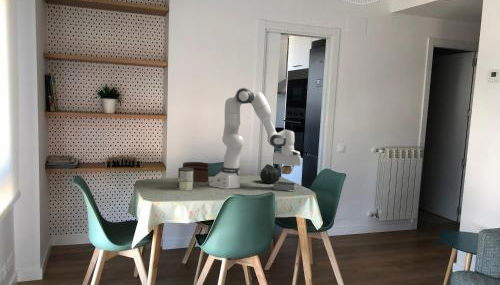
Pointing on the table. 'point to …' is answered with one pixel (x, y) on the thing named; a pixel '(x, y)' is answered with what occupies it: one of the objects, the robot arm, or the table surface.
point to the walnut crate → (286, 169)
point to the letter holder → (199, 171)
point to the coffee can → (185, 178)
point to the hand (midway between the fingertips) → (286, 170)
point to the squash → (269, 174)
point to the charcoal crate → (285, 185)
